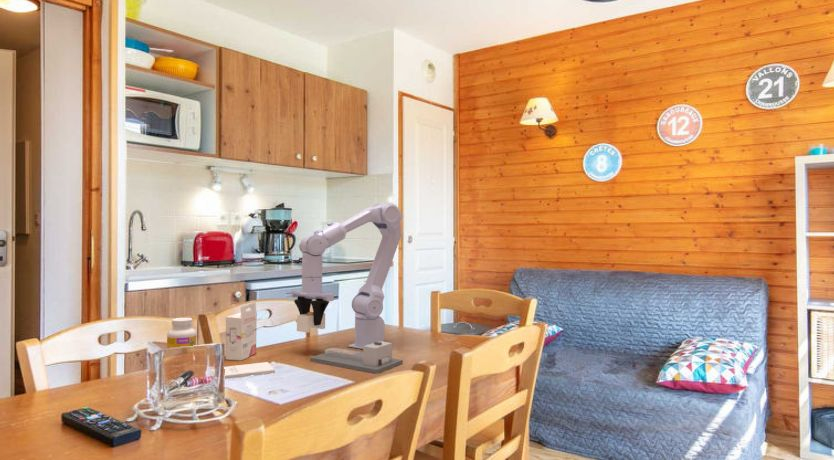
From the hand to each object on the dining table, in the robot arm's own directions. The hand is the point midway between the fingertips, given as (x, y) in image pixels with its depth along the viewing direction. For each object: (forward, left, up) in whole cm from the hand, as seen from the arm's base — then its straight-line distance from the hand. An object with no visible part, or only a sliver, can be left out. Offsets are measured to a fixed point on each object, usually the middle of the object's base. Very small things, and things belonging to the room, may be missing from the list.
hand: (311, 324), depth 156 cm
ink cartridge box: (+14, -13, -9) cm, 21 cm away
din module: (0, 0, -2) cm, 2 cm away
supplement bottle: (+32, -14, -9) cm, 36 cm away
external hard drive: (+24, 0, -9) cm, 26 cm away
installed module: (+1, +24, -7) cm, 25 cm away
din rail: (+1, +17, -8) cm, 19 cm away
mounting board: (+1, +17, -8) cm, 19 cm away
